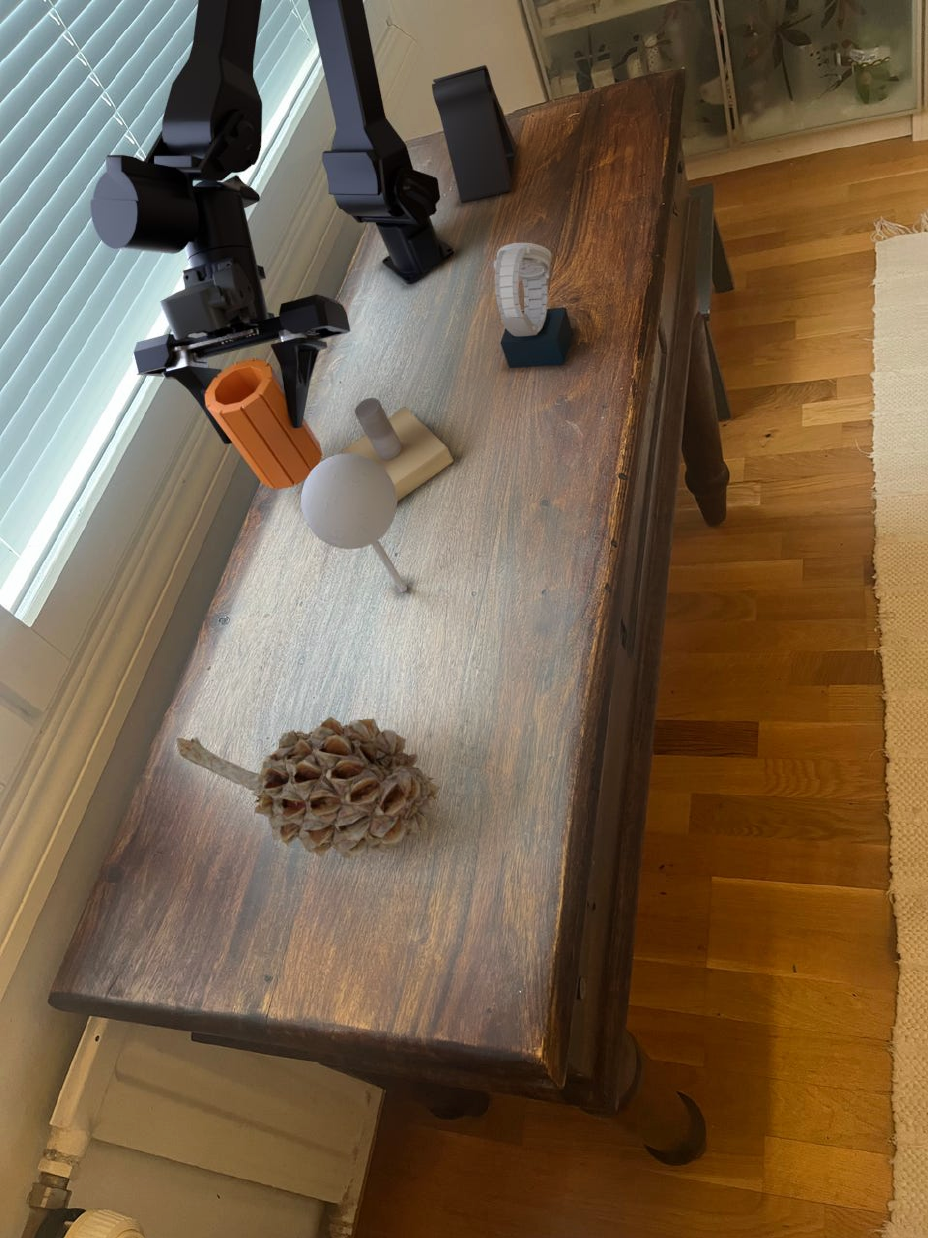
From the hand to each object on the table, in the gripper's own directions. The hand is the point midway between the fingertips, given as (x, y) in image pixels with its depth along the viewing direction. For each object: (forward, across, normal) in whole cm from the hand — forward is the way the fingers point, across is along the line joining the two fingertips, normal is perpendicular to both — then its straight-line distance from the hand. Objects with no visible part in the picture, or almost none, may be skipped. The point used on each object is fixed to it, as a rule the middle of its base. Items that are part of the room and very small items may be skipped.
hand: (262, 435), depth 83 cm
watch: (-3, +24, +14) cm, 28 cm away
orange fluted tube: (+3, 0, +5) cm, 5 cm away
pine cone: (+29, +7, -18) cm, 34 cm away
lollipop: (+15, +12, -4) cm, 20 cm away
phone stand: (-26, +18, +38) cm, 50 cm away
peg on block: (+5, +10, +6) cm, 13 cm away
